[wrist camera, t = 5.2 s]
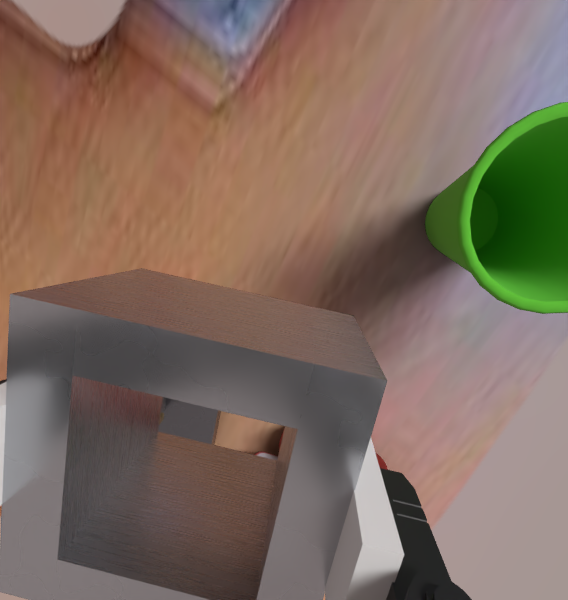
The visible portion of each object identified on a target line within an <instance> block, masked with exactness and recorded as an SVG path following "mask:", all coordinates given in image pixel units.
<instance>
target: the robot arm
mask: <svg viewBox="0 0 568 600" xmlns="http://www.w3.org/2000/svg"><path fill="white" fill-rule="evenodd" d="M6 386H7V379H6V380H2V381H0V506H1V505H2V495H3V470H4V444H5V419H6ZM325 599H326V600H472V599H470V597H469V596H468V595H467V594H466V593H465V592H464V591H463V590H462V589H461V588H460V587H458V586H457V585H455V584H454V583H453V582H452V581H451V579H450V577H449V574H448V572H447V569H446V567H445V564H444V562H443V559H442V556H441V554H440V552H439V549H438V547H437V544H436V541H435V539H434V536H433V534H432V531H431V529H430V526H429V524H428V523H427V519H426V516H425V514H424V511H423V509H421V504H420V501H419V499H418V496H417V494H416V491H415V489H414V487H413V486H412V485H411V484H410V483H409V481H408V480H407V479H406V478H405V476H404V475H403V474H402V473H399V472H395V471H390V470H386V469H382V468H380V467H379V464H378V460H377V457H376V453H375V450H374V446H373V443H372V439H371V438H370V441H369V444H368V448H367V451H366V454H365V458H364V461H363V465H362V468H361V471H360V475H359V478H358V482H357V485H356V488H355V490H354V491H353V495H352V498H351V502H350V505H349V508H348V512H347V515H346V519H345V522H344V525H343V529H342V532H341V536H340V539H339V542H338V546H337V549H336V552H335V556H334V559H333V563H332V566H331V569H330V573H329V576H328V580H327V583H326V586H325Z"/></svg>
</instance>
